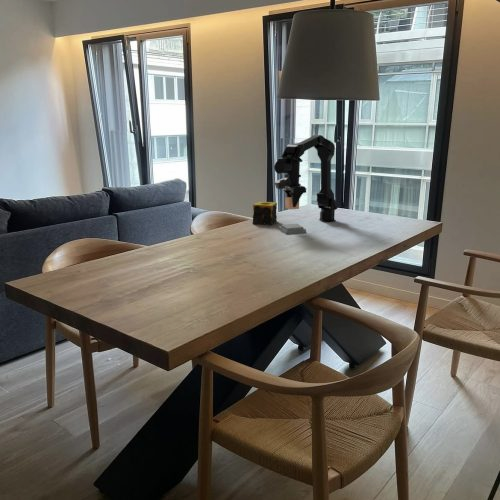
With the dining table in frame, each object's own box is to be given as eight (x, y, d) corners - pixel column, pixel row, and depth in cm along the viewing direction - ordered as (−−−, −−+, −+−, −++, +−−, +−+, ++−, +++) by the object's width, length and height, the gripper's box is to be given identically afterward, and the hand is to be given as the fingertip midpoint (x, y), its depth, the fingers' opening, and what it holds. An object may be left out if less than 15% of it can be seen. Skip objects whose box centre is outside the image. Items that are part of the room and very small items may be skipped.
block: (295, 207, 232) (295, 196, 230) (299, 208, 227) (299, 198, 226) (285, 207, 230) (285, 197, 229) (288, 209, 226) (289, 198, 224)
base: (297, 228, 236) (297, 223, 235) (306, 232, 227) (306, 227, 226) (278, 229, 233) (278, 224, 233) (285, 234, 224) (285, 228, 223)
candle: (252, 224, 246) (252, 204, 243) (257, 220, 255) (257, 201, 252) (272, 225, 243) (272, 205, 240) (276, 221, 252) (277, 202, 249)
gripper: (270, 170, 231) (269, 203, 235) (283, 174, 214) (282, 210, 218) (292, 170, 234) (291, 202, 238) (307, 174, 217) (306, 209, 221)
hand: (292, 206), depth 228 cm, fingers closed on block, 5 cm apart
